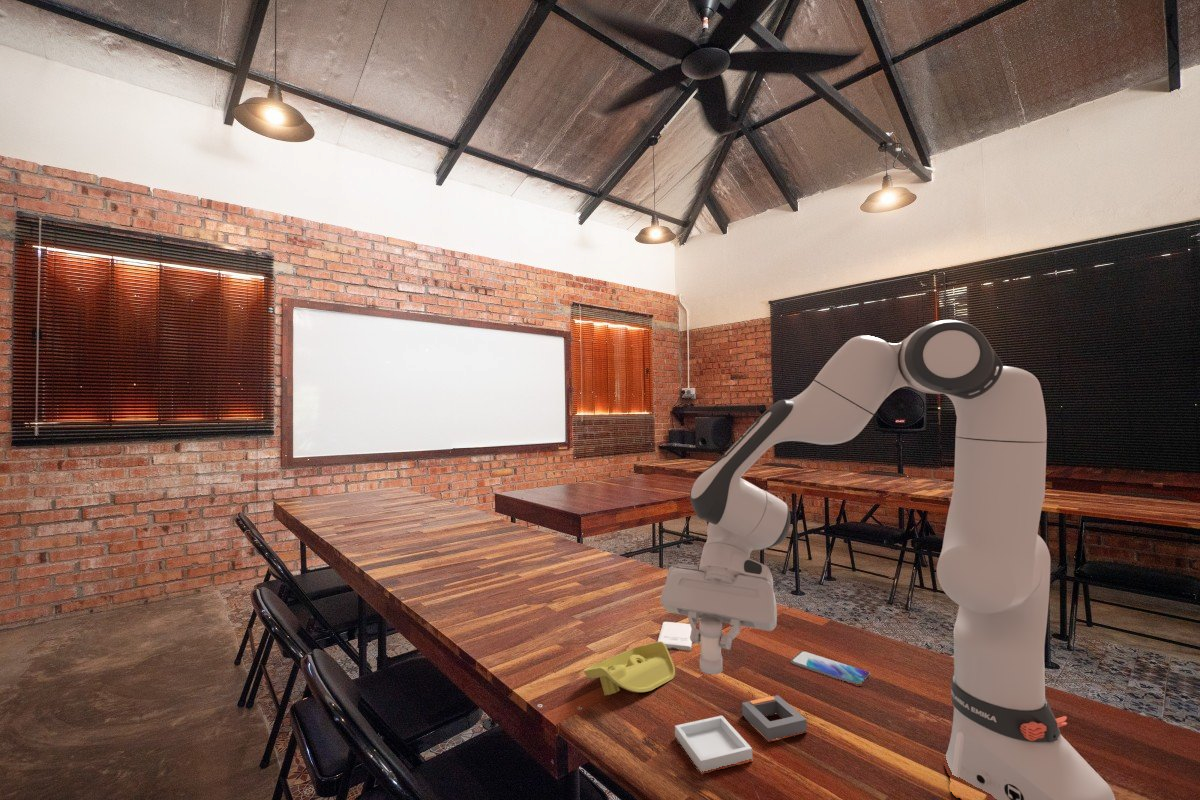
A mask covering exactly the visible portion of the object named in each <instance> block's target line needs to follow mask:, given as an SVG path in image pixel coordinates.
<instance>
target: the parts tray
mask: <svg viewBox="0 0 1200 800" xmlns="http://www.w3.org/2000/svg"><path fill="white" fill-rule="evenodd" d="M675 737H676V738H677V740H678V741H679V742H680V744H681V745H682V747H683V748H684V749H685V751H686V752H687V754H688V755H689V757H690V758H691V760H692V761H693V762H694V764H695V765H696V766H697V767H698V769H699V770H700V771H701V772H702V771H703V772H704V771H708V770H711V769H716V768H719V767H722V766H727V765H731V764H736V763H738V762H741V761H745V760H749V759H752V760H753V747H751V745H750V744H749V743H748V742H747V741H746V739H744V738H743V736H742V735H741V734H740V733H739V732H738V731H737V730H736V729H735V728H734V727H733V726H732V725H731V723H730V722H729V721H728V720H727V719H726V718H725V716H723V715H721V714H720V715H717V716H713V717H709V718H704V719H699V720H694V721H691V722H685V723H682V724H681V723H680V724H677V725H674V738H675ZM677 740H676V741H677ZM682 747H681V748H682ZM687 754H686V755H687ZM689 757H688V758H689ZM691 760H690V761H691ZM692 761H691V762H692ZM694 764H693V765H694Z"/></svg>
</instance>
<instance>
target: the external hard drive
mask: <svg viewBox="0 0 1200 800" xmlns="http://www.w3.org/2000/svg"><path fill="white" fill-rule="evenodd" d="M691 630H692V628H691V626H690V623H683V622H673V621H663V622H662V625H661V629H660V632H659V635H658V639H657V642H660V641H662V642H664V643H665V645H666V647H667V649H670V650H671V649H673V650H679V651H680V650H681V651H689V652H690V651H692V646H693V642H692V641H691V640H690V635H691Z"/></svg>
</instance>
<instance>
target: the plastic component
mask: <svg viewBox="0 0 1200 800" xmlns="http://www.w3.org/2000/svg"><path fill="white" fill-rule="evenodd" d="M668 649H669V648H667V647H666V645H665V643H664V642H662V641H660V642H658V641H657V642H652V643H647V644H642V645H639V646H636V647H633V648H631V649H628V650H625V651H623V652H620V653H619V654H615V655H614V656H611V657H609V658H606V659H604V660H601V661H599V662H597V663H595V664H593V665H590V666H588V667H586V668H584V669H583V673H584V675H585V676H586V678H588V679H598V678H599V679H600V684H601V687H602V690H603V694H604V696H611V695H612V694H616V693H618V692H619V691H620V692H621V689H623V690H626V691H629V692H632V693H646V692H651V691H653V690H655V689H656V688H659V687H660V686H662V685H664V684H666V683H667V682H668V683H669V681H672V680H673V679H674V678H675V675H676V669H675V668H676V667H675V663H674V661H673V659H672V657H671V654H670V652H669V650H668ZM620 688H621V689H620Z"/></svg>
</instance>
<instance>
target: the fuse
mask: <svg viewBox="0 0 1200 800" xmlns="http://www.w3.org/2000/svg"><path fill="white" fill-rule="evenodd" d="M698 623H699V624H698V625H699V627H698V628H699V633H700V635H701V642H700V654H699V670H700V671H701V672H703V673H704V674H707V675H708V674H709V675H719V674H721V673H722V672H723V669H724V668H723V656H722V648H721V646H720V641H721V640H722V639H721V635H722V634H723V622H722V621H721V620H720V619H718V618H715V617H703V618H699V620H698Z"/></svg>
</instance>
